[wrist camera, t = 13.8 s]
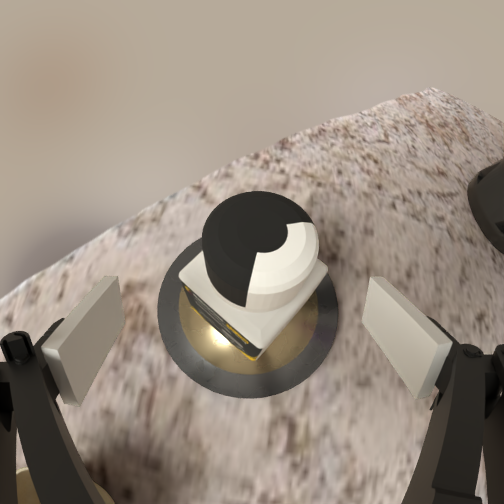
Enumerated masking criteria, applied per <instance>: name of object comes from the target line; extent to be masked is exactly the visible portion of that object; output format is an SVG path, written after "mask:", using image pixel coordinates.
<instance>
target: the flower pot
mask: <svg viewBox="0 0 504 504" xmlns="http://www.w3.org/2000/svg"><path fill="white" fill-rule="evenodd" d="M16 481H17V497H18V504H41V503H40V501H39V498H38V496H37V493H36V490H35V487H34V485H33V482H32V479H31V476H30V473H29V470H28V467H24V468H20V469H18V470H17V471H16ZM93 483H94V485H95V486H96V488H97V490H98V492H99V493H100V495H101V497H102V498H103V500H104V502H105V503H106V504H115V503H114V501H113V499H112V498H111V496H110V495H109V494H108V493H107V492H106V491H105V490H104V489H103V488H102V487H101V486H99V485H98V484H96V483H95V482H93Z"/></svg>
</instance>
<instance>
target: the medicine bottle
mask: <svg viewBox="0 0 504 504" xmlns="http://www.w3.org/2000/svg"><path fill="white" fill-rule="evenodd" d="M202 249H203V250H202V251H201V252H200V253H199V254H198V255H197V256H196V257H195V258H194V259H193V260H192V261H191V262H190V263H188V264H187V265H186V266H185V267H184V268H183V269H182V270H181V271H180V273H179V279H180V281H181V284H182V286H183V288H184V291H185V293H186V296H187V298H188V300H189V303H190V305H191V307H192V309H194V310H195V311H196V312H197V313H198V314H199V315H200V316H201V317H202V318H203V319H204V320H205V321H207V322H208V323H209V324H210V325H211V326H212V327H213V328H214V329H215V330H217V331H218V332H219V333H220V334H221V335H222V336H223V337H224V338H226V339H227V340H228V341H229V342H230V343H231V344H232V345H234V346H235V347H236V348H237V349H238V350H239V351H241V352H242V353H243V354H244V355H245V356H246V357H248V358H249V359H250V360H252V361H255V360H257V359H258V358H259V357H260V356H261V354H262V353H263V352H264V351H265V350H266V349H267V348H268V347H269V345H270V344H271V343H272V342H273V341H274V340H275V338H276V337H277V336H278V335H279V334H280V333H281V331H282V330H283V329H284V328H285V327H286V326H287V324H288V323H289V322H290V321H291V320H292V318H293V317H294V316H295V315H296V314H297V312H298V311H299V310H300V309H301V308H302V306H303V305H304V304H305V303H306V301H307V300H308V299H309V297H310V296H311V295H312V293H313V292H314V290H315V289H316V288H317V286H318V285H319V283H320V282H321V281H322V279H323V278H324V276H325V275H326V274H327V272H328V267H327V266H326V265H325V264H324V263H323V262H321V261H320V260H319V259H318V258H317V256H318V252H319V238H318V234H317V230H316V228H315V225H314V223H313V222H312V220H311V218H310V217H309V216H308V214H307V213H306V212H305V211H304V210H303V209H302V208H301V207H300V206H299V205H297V204H296V203H295V202H293V201H291V200H290V199H288V198H286V197H284V196H281V195H278V194H275V193H271V192H264V191H252V192H245V193H241V194H237V195H235V196H232V197H230V198H228V199H226V200H225V201H223V202H222V203H220V204H219V205H218V206H217V207H216V208H215V209H214V210H213V211H212V212H211V214H210V215H209V217H208V218H207V220H206V223H205V225H204V228H203V232H202Z"/></svg>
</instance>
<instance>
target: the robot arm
mask: <svg viewBox="0 0 504 504" xmlns="http://www.w3.org/2000/svg"><path fill="white" fill-rule="evenodd" d="M468 199H469V203H470V207H471V209H472V212H473V214H474V217H475V219H476V221H477V223H478V224H479V226H480V228H481V229H482V231H483V232H484V234H485V235H486V237H487V238H488V239H489V240H490V242H491V243H492V244H493V245H494V246H495V247H496V248H497V249H498V250H499V251H500V252H502V253H503V254H504V158H503V159H502V160H500V161H498V162H496V163H494V164H492V165H491V166H489V167H487V168H485V169H483V170H481V171H480V172H478V173H477V174H476V175H475V177H474V178H473V179H472V180H471V182H470V183H469V185H468ZM362 323H363V324H364V326H365V327H366V329H367V330H368V331H369V333H370V334H371V336H372V337H373V338H374V340H375V341H376V343H377V344H378V345H379V347H380V348H381V350H382V351H383V353H384V354H385V355H386V357H387V358H388V360H389V361H390V363H391V364H392V366H393V367H394V369H395V370H396V371H397V373H398V374H399V376H400V377H401V379H402V380H403V382H404V383H405V385H406V386H407V388H408V389H409V391H410V392H411V394H412V395H413V397H414V398H415V400H417V399H421V398H425V397H428V396H430V394H431V392H432V390H433V388H434V386H435V385H436V387H437V388H438V389H439V392H438V394H437V396H436V398H435V400H434V402H433V404H432V406H431V408H430V410H432V409H433V412H432V416H431V420H430V423H429V427H428V431H427V434H426V438H425V441H424V444H423V447H422V451H421V454H420V457H419V460H418V463H417V465H416V468H415V471H414V474H413V476H412V479H411V482H410V484H409V487H408V489H407V492H406V494H405V496H404V499H403V501H402V503H401V504H482V499H481V497H476V496H475V489H476V484H477V479H478V473H479V467H480V460H481V452H482V446H483V453H484V461H485V470H486V480H487V494H488V504H504V344H501V345H498V346H497V347H496V349H495V351H494V354H493V355H484V354H483V352H482V351H481V350H480V349H479V348H478V347H476V346H474V345H471V344H460V343H459V342H457V341H456V340H455V339H454V338H453V337H452V336H451V335H450V334H449V333H448V332H446V330H445V329H444V328H443V327H441V325H440V324H439V323H438V322H437V321H435V320H434V319H432V318H430V317H428V316H425V315H424V314H423V313H422V312H421V311H420V310H419V309H418V308H417V307H416V306H414V305H413V304H412V303H411V302H410V301H409V300H408V299H407V298H406V297H405V296H404V295H402V294H401V293H400V292H399V291H398V290H397V289H396V288H395V287H394V286H392V285H391V284H390V283H389V282H388V281H387V280H386V279H385V278H383V277H382V276H381V277H370V280H369V286H368V292H367V297H366V302H365V308H364V313H363V317H362ZM124 325H125V317H124V312H123V306H122V300H121V293H120V287H119V280H118V276H104V277H103V278H102V279H101V280H100V282H99V283H98V284H97V285H96V286H95V287H94V288H93V289H92V290H91V291H90V292H89V293H88V294H87V295H86V296H85V297H84V298H83V300H82V301H81V302H80V303H79V304H78V305H77V306H76V307H75V308H74V309H73V310H72V312H71V313H70V314H69V315H68V316H67V317H66V318H62V319H60V320H58V321H57V322H55V323H54V324H53V325H52V326H51V327H50V328H49V329H48V331H46V332H45V334H44V336H42V337H41V338H40V339H39V340H38V342H37V343H36V344H35V345H34V346H33V345H32V342H31V339H30V336H29V334H28V333H26V332H24V331H15V332H12V333H9V334H7V335H6V336H4V337H3V338H2V340H1V341H0V346H1V349H2V351H3V354H4V356H5V359H6V361H7V362H0V504H18V497H17V481H16V434H17V428H18V433H19V437H20V441H21V445H22V449H23V453H24V456H25V460H26V463H27V466H28V470H29V473H30V476H31V479H32V482H33V485H34V487H35V490H36V493H37V496H38V498H39V501H40V503H41V504H106V503H105V502H104V500H103V498H102V497H101V495H100V493H99V492H98V490H97V488H96V486H95V485H94V483H93V481H92V479H91V477H90V475H89V473H88V472H87V470H86V468H85V466H84V464H83V462H82V460H81V458H80V456H79V454H78V451H77V449H76V447H75V445H74V443H73V440H72V438H71V436H70V434H69V431H68V429H67V426H66V424H65V422H64V419H63V416H62V414H61V411H60V409H59V406H58V404H57V402H56V400H55V399H56V398H57V396H58V394H59V393H60V396H61V398H62V400H63V402H64V404H68V405H73V406H77V407H80V406H81V404H82V402H83V400H84V398H85V396H86V394H87V392H88V390H89V388H90V387H91V385H92V383H93V381H94V379H95V377H96V375H97V373H98V371H99V369H100V368H101V366H102V364H103V362H104V360H105V358H106V357H107V355H108V353H109V351H110V349H111V347H112V346H113V344H114V342H115V340H116V339H117V337H118V335H119V333H120V332H121V330H122V328H123V326H124ZM501 392H502V395H501V396H500V394H501Z"/></svg>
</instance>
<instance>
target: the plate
mask: <svg viewBox="0 0 504 504" xmlns="http://www.w3.org/2000/svg"><path fill="white" fill-rule="evenodd" d="M202 250H203V249H202V238H200V239H198V240H197V241H195V242H194V243H192V244H191V245H190V246H188V247H187V248H186V249H185V250H184V251H183V252H182V253H181V254H180V255H179V256H178V257H177V258H176V260H175V261H174V262H173V263H172V265H171V267H170V268H169V270H168V271H167V273H166V276H165V278H164V280H163V282H162V285H161V289H160V292H159V298H158V323H159V329H160V333H161V336H162V340H163V342H164V344H165V346H166V349H167V351H168V352H169V354H170V355H171V357H172V359H173V360H174V362H175V363H176V364H177V365H178V366H179V368H180V369H181V370H182V371H183V372H184V373H185V374H187V375H188V376H189V377H190V378H191V379H192V380H194V381H195V382H197V383H198V384H200V385H201V386H203V387H205V388H207V389H209V390H211V391H213V392H216V393H219V394H222V395H226V396H231V397H236V398H262V397H268V396H272V395H276V394H279V393H282V392H284V391H287V390H289V389H291V388H293V387H294V386H296V385H298V384H300V383H301V382H302V381H304V380H305V379H306V378H308V377H309V376H310V375H311V374H312V373H313V372H314V371H315V370H316V369H317V368H318V367H319V366H320V364H321V363H322V361H323V360H324V359H325V357H326V355H327V354H328V352H329V350H330V348H331V346H332V343H333V340H334V337H335V334H336V329H337V323H338V304H337V298H336V293H335V290H334V287H333V284H332V281H331V279H330V277H329V275H328V273H327V274H326V275H325V276H324V278H323V279H322V281H321V282H320V283H319V285H318V286H317V288H316V289H315V290H314V292H313V293H312V295H311V296H310V297H309V299H308V300H307V301H306V303H305V304H304V305H303V306H302V308H301V309H300V310H299V311H298V312H297V314H296V315H295V316H294V317H293V318H292V320H291V321H290V322H289V323H288V324H287V326H286V327H285V328H284V329H283V330H282V331H281V333H280V334H279V335H278V336H277V337H276V338H275V340H274V341H273V342H272V343H271V344H270V345H269V347H268V348H267V349H266V350H265V351H264V352H263V353H262V354H261V356H260V357H259V358H258V359H257V360H255V361H252V360H250V359H249V358H248V357H246V356H245V355H244V354H243V353H242V352H241V351H239V350H238V349H237V348H236V347H235V346H234V345H232V344H231V343H230V342H229V341H228V340H227V339H226V338H224V337H223V336H222V335H221V334H220V333H219V332H218V331H217V330H215V329H214V328H213V327H212V326H211V325H210V324H209V323H208V322H207V321H205V320H204V319H203V318H202V317H201V316H200V315H199V314H198V313H197V312H196V311H195V310H194V309H192V307H191V305H190V303H189V300H188V298H187V296H186V293H185V291H184V288H183V286H182V284H181V281H180V279H179V273H180V271H181V270H182V269H183V268H184V267H185V266H186V265H187V264H188V263H190V262H191V261H192V260H193V259H194V258H195V257H196V256H197V255H198V254H199V253H200V252H201V251H202Z"/></svg>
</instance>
